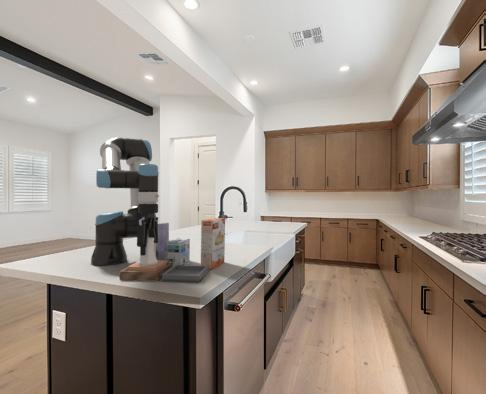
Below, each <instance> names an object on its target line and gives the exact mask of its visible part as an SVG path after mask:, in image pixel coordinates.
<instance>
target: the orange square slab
mask: <svg viewBox="0 0 486 394" xmlns="http://www.w3.org/2000/svg"><path fill="white" fill-rule="evenodd" d="M157 262H158V263H157V264H155V265H150V266H140V265H138V261H136V262H135V263H132V264H130V265H128V266H127V267H128V271H149V272H157V271H159V270H160V269H162V268H163V267H165V266H166V265H167V260H166V259H164V260H158V261H157Z"/></svg>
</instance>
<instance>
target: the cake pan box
mask: <svg viewBox="0 0 486 394" xmlns="http://www.w3.org/2000/svg"><path fill="white" fill-rule="evenodd" d="M169 226H170V223H169V222H160V223H159V222H158V240H157V241H158V243H156V259H157V260H166V259H167V258H168V241H170V229H169V228H170V227H169ZM148 238H149V234H148Z"/></svg>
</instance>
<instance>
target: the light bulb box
mask: <svg viewBox="0 0 486 394" xmlns="http://www.w3.org/2000/svg"><path fill="white" fill-rule="evenodd" d="M190 241H191V240H190V238H188V237H187V238H186V237H185V238H184V237H176V238H173V239H171V240H170V239H169V241H168V258H166V259H167V260H166V261H167V262H173V266H174V265H185V264H186V263H188V262H190V261H191V260H190V259H191V258H190V255H191V253H190V252H191V251H190V250H191V247H190V245H191V244H190Z"/></svg>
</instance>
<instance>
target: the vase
mask: <svg viewBox="0 0 486 394" xmlns="http://www.w3.org/2000/svg"><path fill="white" fill-rule="evenodd" d="M147 246H148V263H147V264H140V258H139V259H138V261H137V262H138V265H140V266H150V265H155V264H157V263H158V262H157V261H158V260H157V259H156V256H155V253H154V238H148V240H147Z"/></svg>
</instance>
